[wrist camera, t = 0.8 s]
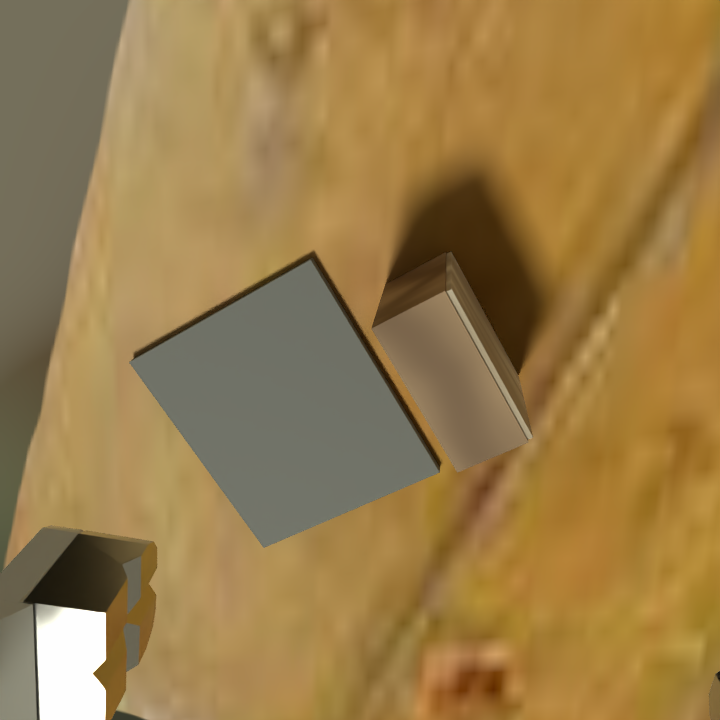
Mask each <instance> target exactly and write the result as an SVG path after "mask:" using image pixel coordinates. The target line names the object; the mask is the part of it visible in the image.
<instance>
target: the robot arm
mask: <svg viewBox="0 0 720 720" xmlns="http://www.w3.org/2000/svg"><path fill="white" fill-rule="evenodd" d="M156 569H157V547H156V545H155V543H154V542H153V541H147V540H141V539H135V538H129V537H123V536H117V535H111V534H105V533H98V532H92V531H83V530H80V529H73V528H66V527H58V526H48V527H44V528H42V529H41V530H40V531H39V532H38V533H37V534H36V535H35V536H34V537H33V539H32V540H31V541H30V542H29V543H28V544H27V545H26V546H25V547H24V548H23V549H22V551H21V552H20V553H19V554H18V555H17V556H16V557H15V558H14V559H13V560H12V561H11V562H10V564H9V565H8V566H7V567H6V568H5V569H4V570H3V571H2V572H1V573H0V720H111V719H112V717H113V715H114V713H115V711H116V709H117V707H118V705H119V703H120V701H121V699H122V697H123V695H124V693H125V691H126V672H127V671H129V670H130V669H132V668H134V667H135V666H137V665H138V664H139V662H140V660H141V658H142V656H143V654H144V652H145V650H146V647H147V644H148V641H149V638H150V634H151V631H152V628H153V622H154V616H155V609H156V594H155V592H154V591H153V589H152V588H151V586H150V585H149V584H148V583H149V582H150V580H151V578H152V576H153V574H154V572H155V571H156ZM709 713H710V719H711V720H720V671H719V672H718V673H716V674H715V677H714V680H713V683H712V686H711V689H710V693H709Z"/></svg>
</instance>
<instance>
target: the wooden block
mask: <svg viewBox="0 0 720 720" xmlns="http://www.w3.org/2000/svg"><path fill="white" fill-rule="evenodd" d="M371 329H372V330H373V332H374V334H375V335H376V337H377V339H378V340H379V342H380V344H381V345H382V347H383V349H384V350H385V352H386V354H387V355H388V357H389V359H390V360H391V362H392V364H393V365H394V367H395V369H396V371H397V372H398V374H399V376H400V377H401V379H402V381H403V382H404V384H405V386H406V387H407V389H408V391H409V392H410V394H411V396H412V397H413V399H414V401H415V402H416V404H417V406H418V407H419V409H420V411H421V412H422V414H423V416H424V417H425V419H426V421H427V422H428V424H429V426H430V427H431V429H432V431H433V432H434V434H435V436H436V437H437V439H438V441H439V442H440V444H441V446H442V447H443V449H444V451H445V452H446V454H447V456H448V457H449V459H450V461H451V463H452V464H453V466H454V468H455V469H456V471H457V472H460V471H462V470H464V469H467V468H469V467H472V466H474V465H476V464H479V463H481V462H483V461H486V460H488V459H490V458H493V457H495V456H497V455H500V454H502V453H504V452H507V451H509V450H512V449H514V448H516V447H519V446H521V445H523V444H526V443H528V439H530V438H533V435H532V431H531V427H530V422H529V418H528V414H527V410H526V406H525V401H524V397H523V393H522V389H521V385H520V380H519V376H518V374H517V372H516V370H515V369H514V367H513V365H512V363H511V361H510V359H509V357H508V356H507V354H506V352H505V350H504V348H503V346H502V344H501V343H500V341H499V339H498V337H497V335H496V333H495V332H494V330H493V328H492V326H491V324H490V322H489V320H488V319H487V317H486V315H485V313H484V311H483V309H482V307H481V306H480V304H479V302H478V300H477V298H476V296H475V294H474V293H473V291H472V289H471V287H470V285H469V283H468V281H467V280H466V278H465V276H464V274H463V272H462V270H461V269H460V267H459V265H458V263H457V261H456V259H455V257H454V256H453V254H452V252H449V253H446V252H445V253H443V254H441V255H439V256H437V257H435V258H434V259H432V260H430V261H428V262H426V263H424V264H422V265H420V266H419V267H417V268H415V269H413V270H411V271H409V272H407V273H405V274H403V275H402V276H400V277H398V278H396V279H394V280H392V281H390V282H388V283H387V284H385V288H384V291H383V294H382V297H381V300H380V303H379V306H378V310H377V313H376V316H375V319H374V322H373V325H372V328H371Z"/></svg>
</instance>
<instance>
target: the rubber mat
mask: <svg viewBox="0 0 720 720" xmlns="http://www.w3.org/2000/svg"><path fill="white" fill-rule="evenodd" d="M129 363H130V364H131V366H132V367H133V368H134V370H135V371H136V372H137V374H138V375H139V377H140V378H141V379H142V381H143V382H144V383H145V385H146V386H147V388H148V389H149V390H150V392H151V393H152V394H153V396H154V397H155V399H156V400H157V401H158V403H159V404H160V406H161V407H162V408H163V410H164V411H165V412H166V414H167V415H168V417H169V418H170V419H171V421H172V422H173V423H174V425H175V426H176V428H177V429H178V430H179V432H180V433H181V434H182V436H183V437H184V439H185V440H186V441H187V443H188V444H189V445H190V447H191V448H192V450H193V451H194V452H195V454H196V455H197V457H198V458H199V459H200V461H201V462H202V463H203V465H204V466H205V468H206V469H207V470H208V472H209V473H210V474H211V476H212V477H213V479H214V480H215V481H216V483H217V484H218V485H219V487H220V488H221V490H222V491H223V492H224V494H225V495H226V496H227V498H228V499H229V501H230V502H231V503H232V505H233V506H234V508H235V509H236V510H237V512H238V513H239V514H240V516H241V517H242V519H243V520H244V521H245V523H246V524H247V525H248V527H249V528H250V530H251V531H252V532H253V534H254V535H255V536H256V538H257V539H258V541H259V542H260V543H261V545H262V546H263V547H267V546H269V545H271V544H274V543H276V542H278V541H281V540H283V539H285V538H288V537H290V536H292V535H295V534H297V533H299V532H302V531H304V530H306V529H309V528H311V527H313V526H316V525H318V524H320V523H323V522H325V521H327V520H330V519H332V518H334V517H337V516H339V515H341V514H344V513H346V512H348V511H351V510H353V509H355V508H358V507H360V506H362V505H365V504H367V503H369V502H372V501H374V500H376V499H379V498H381V497H383V496H386V495H388V494H390V493H393V492H395V491H397V490H400V489H402V488H404V487H407V486H409V485H411V484H414V483H416V482H418V481H421V480H423V479H425V478H428V477H430V476H432V475H435V474H437V473H439V472H440V467H439V465H438V464H437V462H436V460H435V459H434V457H433V456H432V454H431V452H430V451H429V449H428V447H427V446H426V444H425V442H424V441H423V439H422V437H421V436H420V434H419V432H418V431H417V429H416V427H415V426H414V424H413V422H412V421H411V419H410V418H409V416H408V414H407V413H406V411H405V409H404V408H403V406H402V404H401V403H400V401H399V399H398V398H397V396H396V394H395V393H394V391H393V389H392V388H391V386H390V384H389V383H388V381H387V380H386V378H385V376H384V375H383V373H382V371H381V370H380V368H379V366H378V365H377V363H376V361H375V360H374V358H373V356H372V355H371V353H370V351H369V350H368V348H367V346H366V345H365V343H364V342H363V340H362V338H361V337H360V335H359V333H358V332H357V330H356V328H355V327H354V325H353V323H352V322H351V320H350V318H349V317H348V315H347V313H346V312H345V310H344V308H343V307H342V305H341V304H340V302H339V300H338V299H337V297H336V295H335V294H334V292H333V290H332V289H331V287H330V285H329V284H328V282H327V280H326V279H325V277H324V275H323V274H322V272H321V270H320V269H319V267H318V266H317V264H316V262H315V261H314V259H313V257H312V258H310V259H309V260H307V261H305V262H303V263H302V264H300V265H298V266H296V267H295V268H293V269H291V270H289V271H287V272H286V273H284V274H282V275H280V276H279V277H277V278H275V279H273V280H272V281H270V282H268V283H266V284H265V285H263V286H261V287H259V288H257V289H256V290H254V291H252V292H250V293H249V294H247V295H245V296H243V297H242V298H240V299H238V300H236V301H235V302H233V303H231V304H229V305H227V306H226V307H224V308H222V309H220V310H219V311H217V312H215V313H213V314H212V315H210V316H208V317H206V318H205V319H203V320H201V321H199V322H197V323H196V324H194V325H192V326H190V327H189V328H187V329H185V330H183V331H182V332H180V333H178V334H176V335H175V336H173V337H171V338H169V339H167V340H166V341H164V342H162V343H160V344H159V345H157V346H155V347H153V348H152V349H150V350H148V351H146V352H145V353H143V354H141V355H139V356H137V357H136V358H134V359H133V360H131V361H130V362H129Z"/></svg>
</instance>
